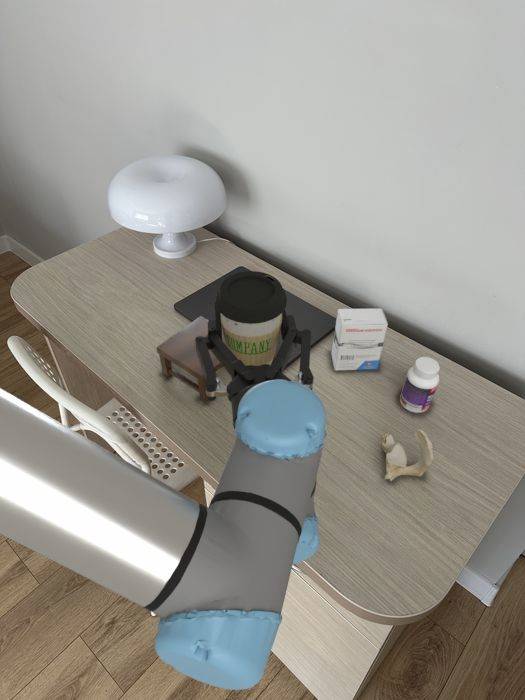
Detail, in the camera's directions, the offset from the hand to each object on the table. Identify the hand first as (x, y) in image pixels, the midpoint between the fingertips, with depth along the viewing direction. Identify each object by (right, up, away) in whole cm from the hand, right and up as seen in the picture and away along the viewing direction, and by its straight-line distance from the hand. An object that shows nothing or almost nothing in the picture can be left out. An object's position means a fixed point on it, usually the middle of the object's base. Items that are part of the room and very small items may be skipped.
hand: (248, 306), depth 74 cm
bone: (+23, -26, +5) cm, 35 cm away
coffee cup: (0, -9, +3) cm, 10 cm away
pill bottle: (+30, -16, +15) cm, 37 cm away
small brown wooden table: (-9, -11, +20) cm, 25 cm away
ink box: (+20, -9, +23) cm, 32 cm away
